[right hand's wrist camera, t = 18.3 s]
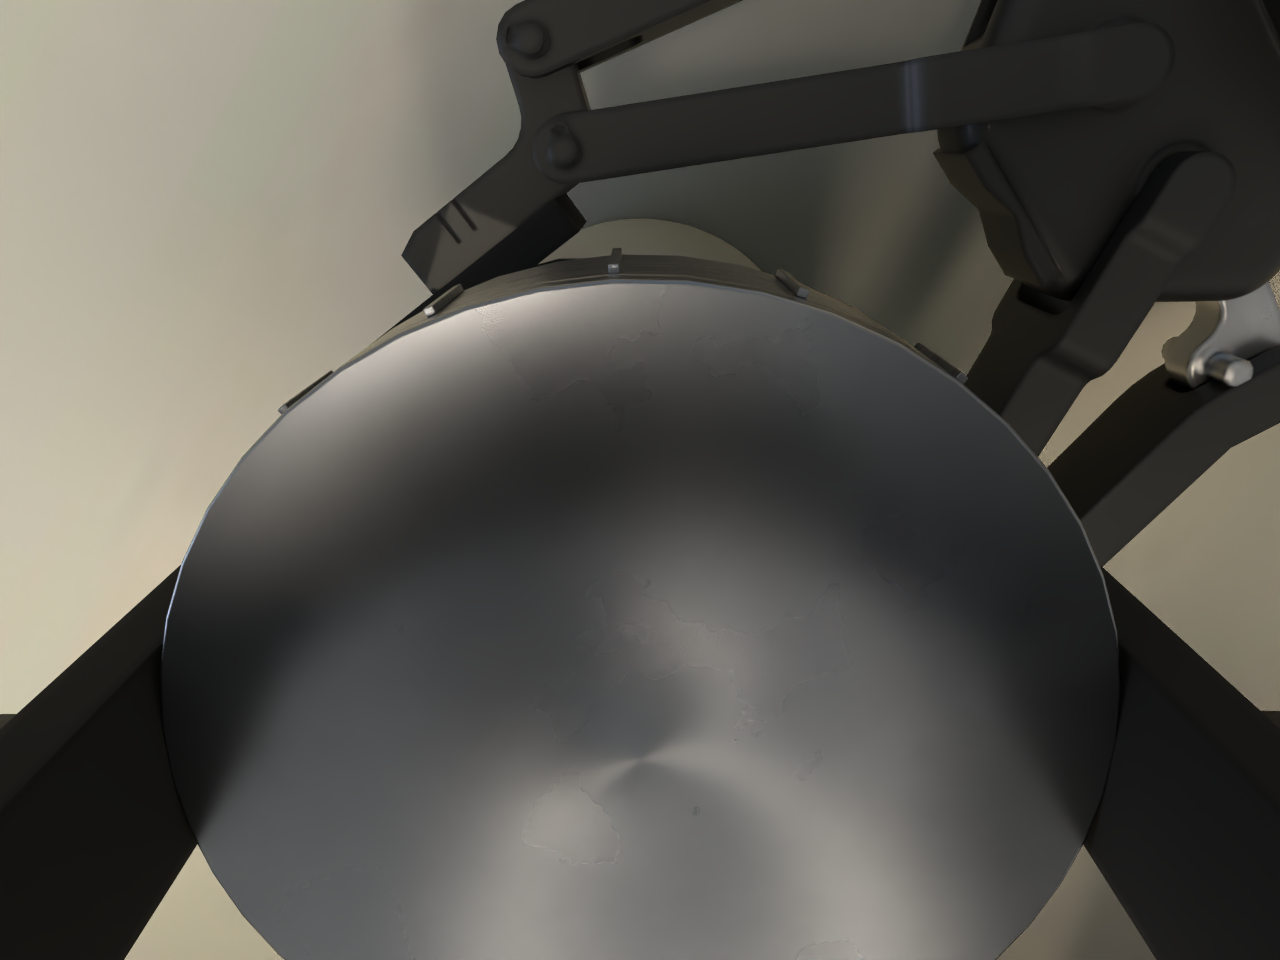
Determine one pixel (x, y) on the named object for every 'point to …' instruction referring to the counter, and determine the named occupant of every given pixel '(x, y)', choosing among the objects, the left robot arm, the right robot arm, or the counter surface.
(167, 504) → the counter surface
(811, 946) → the lid
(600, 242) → the jar
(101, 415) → the counter surface
